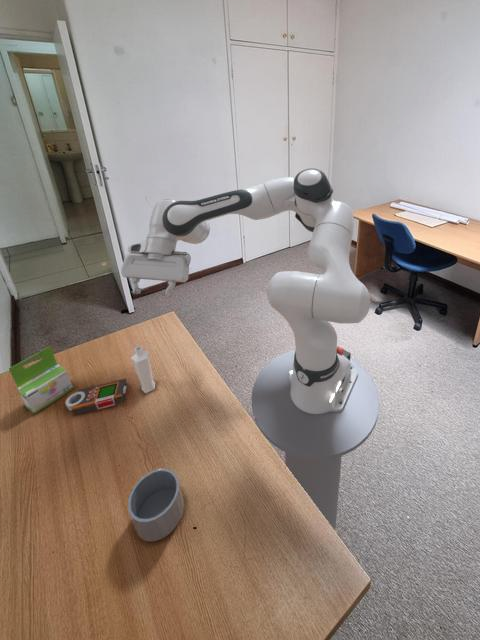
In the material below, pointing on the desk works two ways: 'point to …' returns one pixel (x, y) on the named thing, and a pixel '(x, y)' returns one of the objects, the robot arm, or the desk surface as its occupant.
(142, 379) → the perfume bottle
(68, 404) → the electronic device
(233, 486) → the desk surface
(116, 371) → the desk surface
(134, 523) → the short grey cup
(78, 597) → the desk surface
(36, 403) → the ink box
